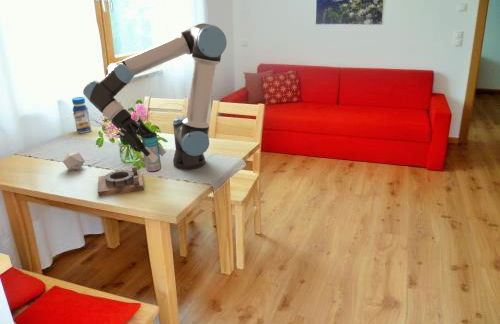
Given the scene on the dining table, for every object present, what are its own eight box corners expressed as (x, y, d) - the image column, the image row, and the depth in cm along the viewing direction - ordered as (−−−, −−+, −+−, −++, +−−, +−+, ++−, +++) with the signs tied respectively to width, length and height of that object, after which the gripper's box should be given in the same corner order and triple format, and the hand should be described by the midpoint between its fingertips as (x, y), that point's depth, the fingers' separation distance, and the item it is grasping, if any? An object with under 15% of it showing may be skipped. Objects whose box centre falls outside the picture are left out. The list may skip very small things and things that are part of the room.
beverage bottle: (94, 128, 252) (88, 96, 244) (86, 133, 244) (80, 100, 236) (81, 128, 253) (75, 96, 245) (73, 132, 246) (67, 99, 238)
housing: (141, 174, 187) (139, 164, 185) (143, 189, 173) (142, 178, 171) (99, 180, 183) (97, 170, 181) (98, 196, 168) (96, 185, 166)
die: (73, 175, 190) (83, 157, 190) (56, 166, 190) (67, 147, 190) (80, 174, 198) (90, 156, 198) (64, 165, 198) (74, 147, 198)
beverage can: (163, 167, 168) (159, 132, 162) (157, 173, 163) (152, 137, 157) (150, 166, 170) (145, 131, 164) (143, 172, 164) (138, 136, 158)
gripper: (126, 114, 171) (166, 154, 173) (98, 128, 155) (142, 172, 156) (135, 102, 168) (176, 143, 169) (107, 115, 151) (153, 160, 153)
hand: (160, 157), depth 163 cm, fingers closed on beverage can, 6 cm apart
